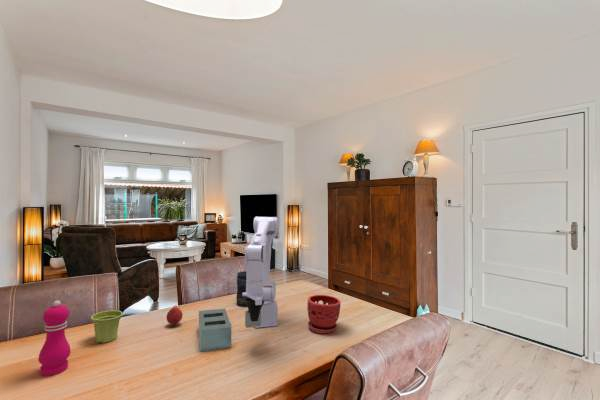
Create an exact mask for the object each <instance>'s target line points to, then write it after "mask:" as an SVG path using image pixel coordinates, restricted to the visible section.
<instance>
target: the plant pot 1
mask: <svg viewBox="0 0 600 400" xmlns="http://www.w3.org/2000/svg"><path fill="white" fill-rule="evenodd" d="M123 315H124V314H123V312H122V311H121V310H115V309H114V310H104V311H99V312H97V313H94V314H93V315H91V318H90V319H91V320H92V323H93V326H94V328H93V329H94V336H95V343H103V344H105V343H109V342H112V341H114V340H115V339H116V338H117V335H118V329H119V325H120V321H121V318H122V316H123Z"/></svg>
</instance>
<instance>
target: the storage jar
mask: <svg viewBox="0 0 600 400" xmlns="http://www.w3.org/2000/svg"><path fill="white" fill-rule="evenodd" d="M236 274H237V276H236V286H237V288H236V289H237V291H236V297H235V299H236V303H235V305H236V306H237V307H239V308H248V305H247V302H246V300H245V297H247V296H243V295H242V293H245V292H246V275H247V270H246V271H239V272H237V273H236Z"/></svg>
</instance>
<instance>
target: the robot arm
mask: <svg viewBox="0 0 600 400" xmlns="http://www.w3.org/2000/svg"><path fill="white" fill-rule="evenodd" d="M252 225H253V231H254V234H252V237H251V240H250V243H249V244H248V245H245V250H244V258H245V259H244V260H245V267H246V271H247V275H246V292H245V293H242V295H243V296H247V297H245V300H246V302H247V305H248V307H247V309H248V310H247V311H249V310H250V317H251V321H252V322H254V321H258V318H259V314H260V310H261V326H257V327H254V328H255V329H260V328H267V327H274V326H279V324H278V315H279V313H278V303H277V301H276V292H277V291H276V289H277V287H276V282H275V281H274V280H273V279H272V278H271V277H270V273H271V272H270V271H271V256H272V243H273V239H274V238H277V237H278V236H277V235H278V231H279V230H278V229H279V219H278V216H257V215H256V216H255V217H254V218H253V223H252Z"/></svg>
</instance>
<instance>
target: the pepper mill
mask: <svg viewBox="0 0 600 400" xmlns="http://www.w3.org/2000/svg"><path fill="white" fill-rule="evenodd" d="M61 303H62V302H61V301H60V300H58V299H57V300H55V301H53V303H52V306H50V307H48V308H47V309H46V310H45V311H44V312H43V314H42V321H43V322H44V323H45V325H44V331H45V333H46V336H45V341H44V343H43V346H42V347H41V350H40V352H39V353H38V354H39V355H38V363H39V364H41V366H40V369H39V375H41V376H42V377H43V376H44V377H48V376H50V377H51V376H55V375H58V374H60V373H62V372H64V371H66V370H67V369H68V368H69V367H68V366H69V360H68V358H69V357H70V355H71V354H72V353H71V351H72V350H71V346H70V344H69V341H68V340H67V337H66V333H65V330H66V328H67V326H68V321H67V320H68V318H69V317H70V309H69V308H68V307H67V306H66V305H62V304H61Z"/></svg>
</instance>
